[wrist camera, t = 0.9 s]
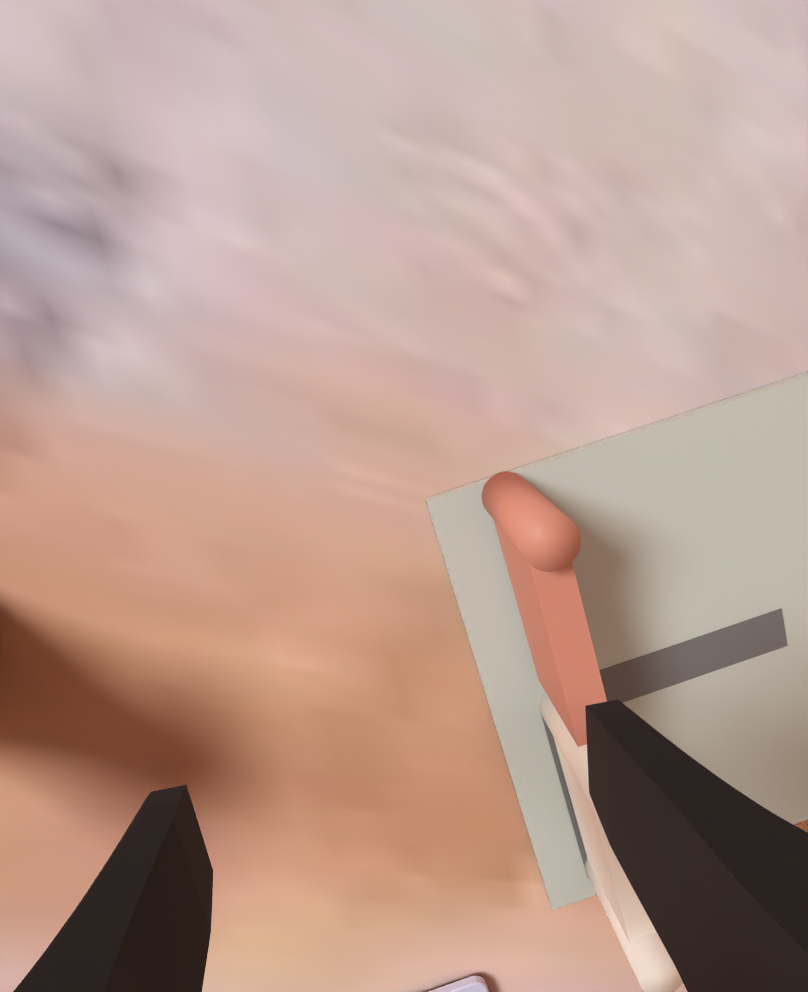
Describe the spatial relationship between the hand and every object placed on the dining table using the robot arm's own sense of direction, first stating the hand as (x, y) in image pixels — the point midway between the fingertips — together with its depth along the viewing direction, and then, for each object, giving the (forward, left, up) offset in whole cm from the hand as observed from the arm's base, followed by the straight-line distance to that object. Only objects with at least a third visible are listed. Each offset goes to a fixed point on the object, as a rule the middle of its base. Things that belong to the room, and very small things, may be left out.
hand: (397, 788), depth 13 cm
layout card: (-8, -10, -12) cm, 18 cm away
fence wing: (-3, -5, -12) cm, 13 cm away
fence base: (-12, -5, -12) cm, 18 cm away
